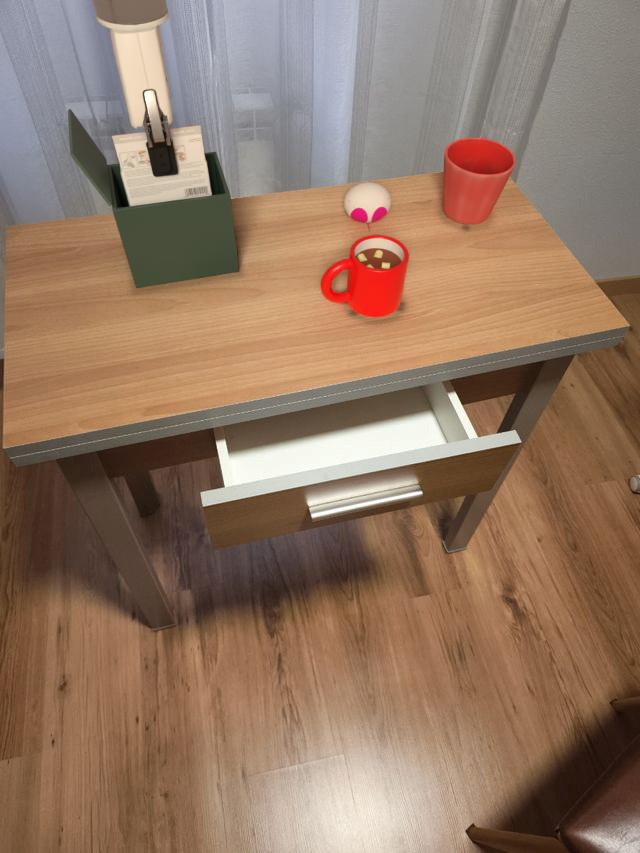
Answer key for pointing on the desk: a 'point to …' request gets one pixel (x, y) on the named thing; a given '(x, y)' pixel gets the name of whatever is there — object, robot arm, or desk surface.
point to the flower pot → (474, 178)
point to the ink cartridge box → (164, 188)
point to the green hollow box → (177, 232)
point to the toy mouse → (367, 202)
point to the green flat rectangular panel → (88, 157)
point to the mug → (370, 276)
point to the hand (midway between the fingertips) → (164, 167)
